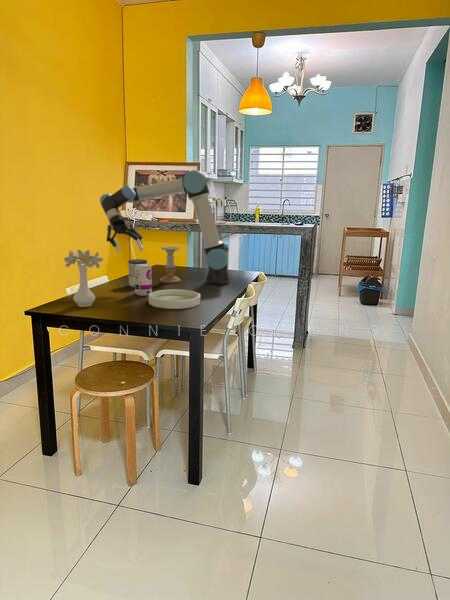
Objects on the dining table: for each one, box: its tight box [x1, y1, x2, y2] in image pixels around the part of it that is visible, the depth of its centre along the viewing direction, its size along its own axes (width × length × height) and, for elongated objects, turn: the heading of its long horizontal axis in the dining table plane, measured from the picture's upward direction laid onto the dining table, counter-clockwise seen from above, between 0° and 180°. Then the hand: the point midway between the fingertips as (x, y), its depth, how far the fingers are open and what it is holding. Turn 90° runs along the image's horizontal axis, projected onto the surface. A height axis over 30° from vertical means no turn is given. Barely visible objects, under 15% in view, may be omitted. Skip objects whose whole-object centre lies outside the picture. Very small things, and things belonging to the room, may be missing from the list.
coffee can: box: [127, 258, 148, 288], centre depth 228 cm, size 10×10×14 cm
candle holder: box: [159, 246, 182, 284], centre depth 241 cm, size 12×12×20 cm
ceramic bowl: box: [148, 289, 201, 310], centre depth 195 cm, size 24×24×4 cm
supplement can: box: [134, 263, 153, 296], centre depth 208 cm, size 8×8×15 cm
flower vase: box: [63, 249, 104, 308], centre depth 182 cm, size 13×18×25 cm
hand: (130, 250), depth 212 cm, fingers open, 13 cm apart
